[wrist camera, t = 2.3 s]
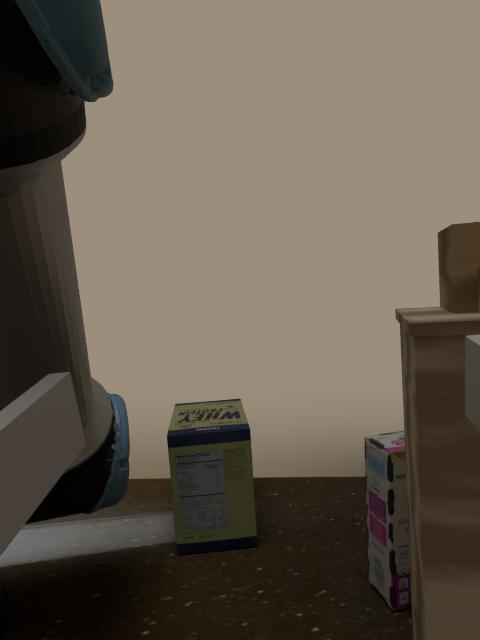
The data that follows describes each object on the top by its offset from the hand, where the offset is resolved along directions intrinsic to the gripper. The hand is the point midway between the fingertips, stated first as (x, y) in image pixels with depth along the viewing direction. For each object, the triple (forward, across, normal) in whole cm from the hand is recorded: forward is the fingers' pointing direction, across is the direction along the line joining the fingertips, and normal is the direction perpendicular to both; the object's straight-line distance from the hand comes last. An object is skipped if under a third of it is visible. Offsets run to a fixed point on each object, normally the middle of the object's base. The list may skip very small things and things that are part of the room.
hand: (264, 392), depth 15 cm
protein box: (+41, -11, -37) cm, 56 cm away
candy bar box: (+26, +13, -35) cm, 46 cm away
